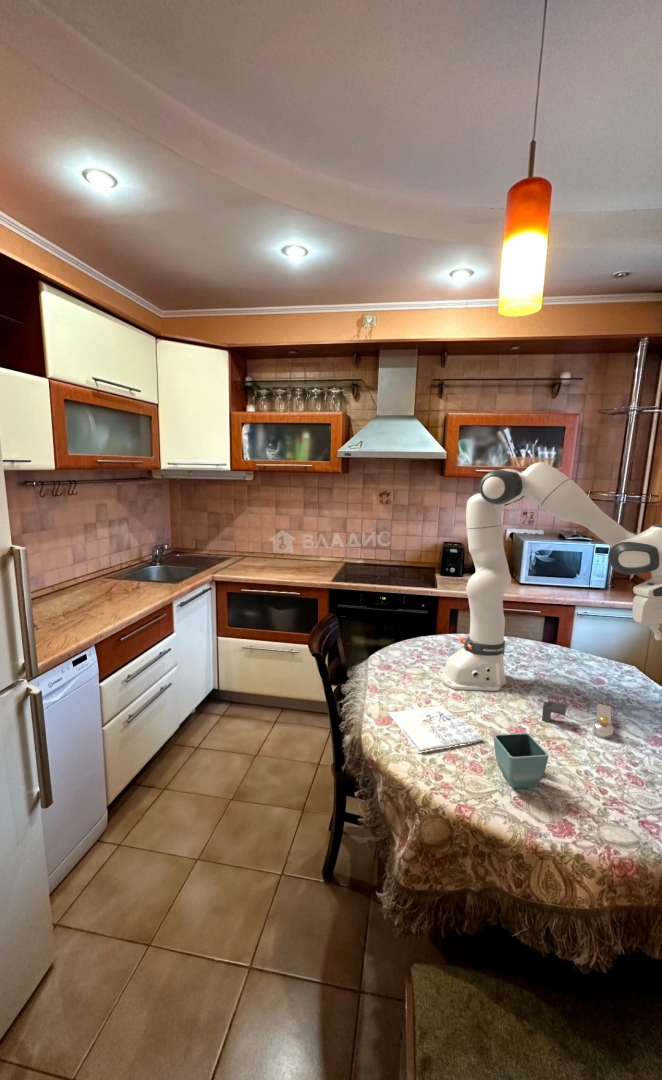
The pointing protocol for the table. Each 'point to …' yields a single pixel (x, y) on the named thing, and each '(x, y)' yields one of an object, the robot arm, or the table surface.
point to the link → (603, 730)
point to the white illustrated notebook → (434, 728)
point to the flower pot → (520, 759)
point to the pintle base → (562, 712)
